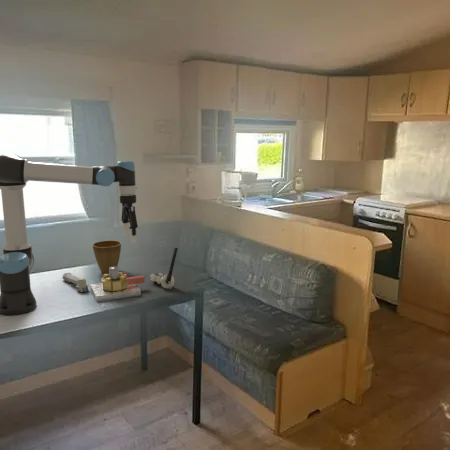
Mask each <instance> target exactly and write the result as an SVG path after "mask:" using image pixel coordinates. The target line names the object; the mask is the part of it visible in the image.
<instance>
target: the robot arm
mask: <svg viewBox="0 0 450 450" xmlns="http://www.w3.org/2000/svg"><path fill="white" fill-rule="evenodd" d="M29 181H31V182H42V183H43V182H45V183H62V184H63V183H64V184H81V185H93V186H95V185H96V186H101V187H109V186H111V185H112V184H114V183H118V193H119V203H120V204H121V208H122V209H121V218H120V221H121V222H122V234H123V238H124V237H125V238H127V237H129V238H130V243H137V242H138V241H137V240H138V237H137V236H138V235H137V228H139V226H138V222H137V213H136V207H135V206H134V205H133V204H136V203H137V195H136V193H137V190H136V189H138V188H137V186H136V169H135V162H134V161H132V160H119V161H117V165H95V166H86V165H85V166H84V165H72V164H59V163H46V162H32V161H29V160H28V159H27V158H22V157H21V156H19V155H18V154H15V153H3V154H2V155H0V193H1V203H2V213H3V222H4V225H3V226H4V234H5V243H6V244H5V245H3V247H2V253H3V254H2V255H0V315H2V316H3V315H4V316H17V315H23V314H27V313H30V312H32V311H34V310H35V309H36V308H37V306H38V305H37V300H36V298H35V296H34V294H33V292H32V288H31V277H30V275H31V274H30V272H31V271H32V269H33V267H34V264H35V257H34V254H33V250H32V249H33V248H32V244H31V243H30V242H28V235H27V234H28V233H27V232H28V231H27V224H26V223H27V222H26V211H25V200H24V199H25V198H24V188H25V187H26V186H27V182H29Z"/></svg>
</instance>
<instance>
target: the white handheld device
mask: <svg viewBox="0 0 450 450" xmlns="http://www.w3.org/2000/svg"><path fill="white" fill-rule="evenodd" d="M62 279H63V280H64V281H66V282H69V283H72V284H75V285H76V289H77V292H78V293H80V292H81V293H83V292H84V293H85V292H88V291H89V284H88V283H87V279H86V278H83V277H82V278H81V277H78V276H76V275H74V274H72V273H71V272H65V273H63V275H62Z"/></svg>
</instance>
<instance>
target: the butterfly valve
mask: <svg viewBox="0 0 450 450" xmlns="http://www.w3.org/2000/svg"><path fill="white" fill-rule="evenodd" d="M172 254H173V255H172V258H171V263H170V265H169V266H170V267H169V270H168V272H167V274H164V275H163V273H162V272H159V273H151V274H149V277H150V281H153V282H156V284H158V285H161V287H162V288H164V289H172V288H173V287H174V285H175V278H174V276H173V271H174V267H175V263H176V262H175V261H176V257H177V254H178V248H177V247H174V249H173V253H172Z"/></svg>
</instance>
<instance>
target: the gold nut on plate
mask: <svg viewBox="0 0 450 450" xmlns="http://www.w3.org/2000/svg"><path fill="white" fill-rule="evenodd" d="M119 272H120V267H119V266H117V267H116V266H114V267H110V268H109V276H110V278H112V281H117V280H119ZM89 290H90V291H91V293H92V296H93V298H94V300H95V302H103V301H104V302H105V301H110V300H111V301H112V300H118V299H125V298H131V297H139V296H141V295H142V294H141V293H142V292H141V291H142V290H141V289H140V288H139V286H138V284H133V285H128V287H127V288H125V289H122V290H117V291H113V290H112V291H107V290H103V289H102V286H101V282H99V283H93V284H89Z"/></svg>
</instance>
